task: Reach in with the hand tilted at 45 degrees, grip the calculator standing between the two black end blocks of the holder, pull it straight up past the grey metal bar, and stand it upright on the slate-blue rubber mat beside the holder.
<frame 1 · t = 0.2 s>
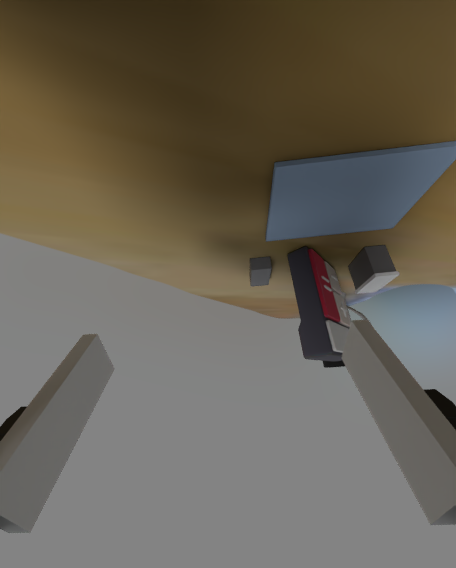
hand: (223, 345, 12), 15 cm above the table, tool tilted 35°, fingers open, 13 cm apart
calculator: (311, 260, 37), on the table
slot holder: (311, 261, 37), on the table
rubber mat: (343, 199, 24), on the table
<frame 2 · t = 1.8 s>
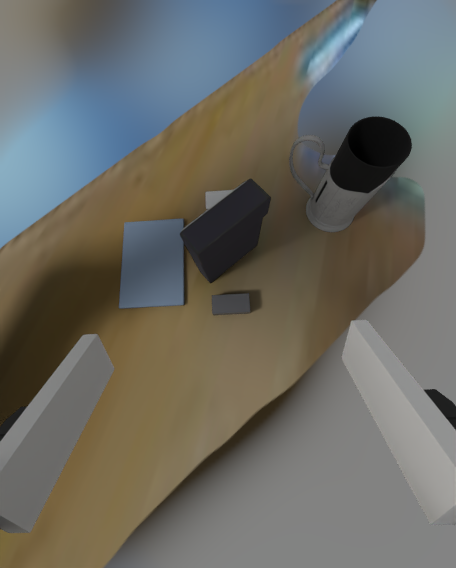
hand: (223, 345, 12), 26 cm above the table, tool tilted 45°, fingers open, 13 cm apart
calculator: (228, 258, 41), on the table
slot holder: (228, 257, 40), on the table
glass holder: (314, 207, 42), on the table
rubber mat: (153, 262, 41), on the table
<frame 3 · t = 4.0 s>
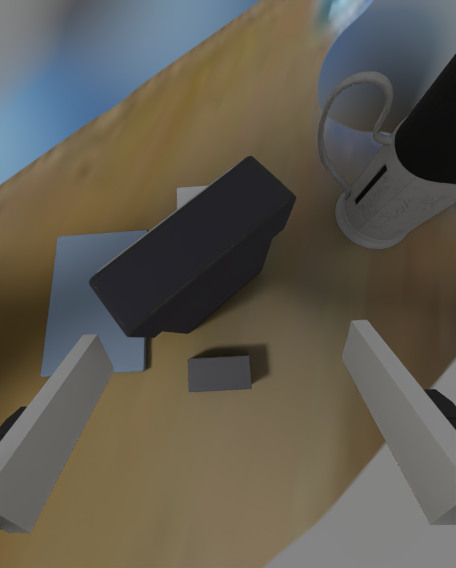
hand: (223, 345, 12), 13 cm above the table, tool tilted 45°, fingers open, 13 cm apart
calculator: (217, 291, 26), on the table
slot holder: (216, 291, 26), on the table
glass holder: (348, 210, 28), on the table
rubber mat: (100, 299, 26), on the table
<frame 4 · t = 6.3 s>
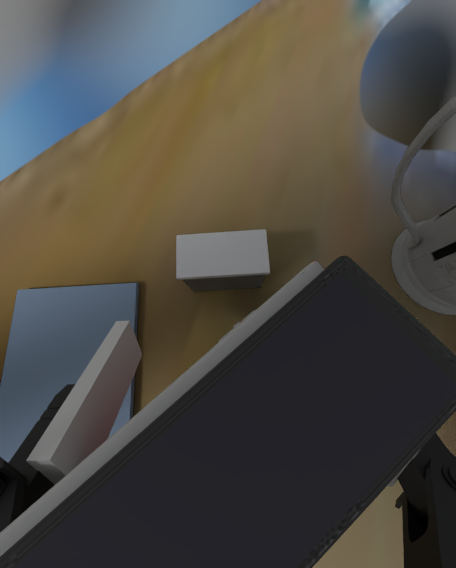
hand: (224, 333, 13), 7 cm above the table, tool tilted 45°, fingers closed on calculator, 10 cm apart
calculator: (231, 372, 19), on the table, touching gripper
slot holder: (230, 373, 19), on the table
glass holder: (409, 257, 20), on the table
rubber mat: (70, 380, 19), on the table
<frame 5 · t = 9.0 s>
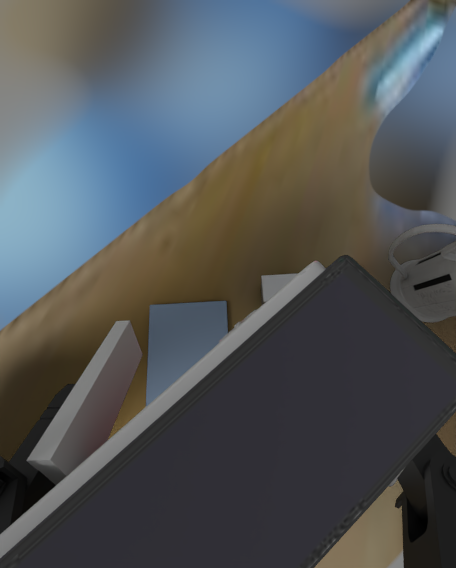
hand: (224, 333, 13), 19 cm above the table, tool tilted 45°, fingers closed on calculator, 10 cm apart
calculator: (231, 372, 19), point 12 cm above the table, touching gripper
slot holder: (289, 357, 30), on the table
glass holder: (401, 284, 32), on the table
rubber mat: (188, 361, 31), on the table
when the fingers open (9 cm above the table, at t = 11.6 s): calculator drops 1 cm, resting on rubber mat.
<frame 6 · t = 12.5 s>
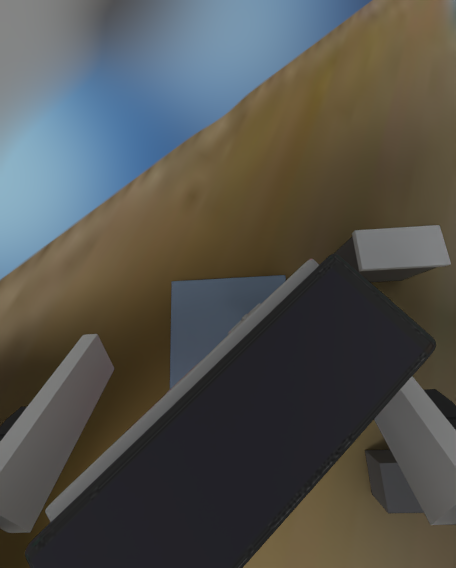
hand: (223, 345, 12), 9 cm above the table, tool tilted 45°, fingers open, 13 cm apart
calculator: (237, 364, 20), resting on rubber mat
slot holder: (384, 358, 20), on the table
rubber mat: (232, 365, 21), on the table
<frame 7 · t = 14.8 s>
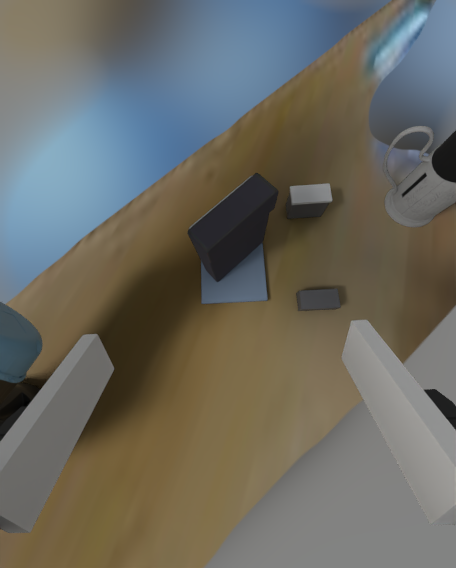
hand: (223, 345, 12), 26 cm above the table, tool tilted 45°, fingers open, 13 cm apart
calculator: (234, 256, 40), resting on rubber mat
slot holder: (308, 253, 40), on the table
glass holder: (393, 202, 42), on the table
rubber mat: (232, 257, 41), on the table
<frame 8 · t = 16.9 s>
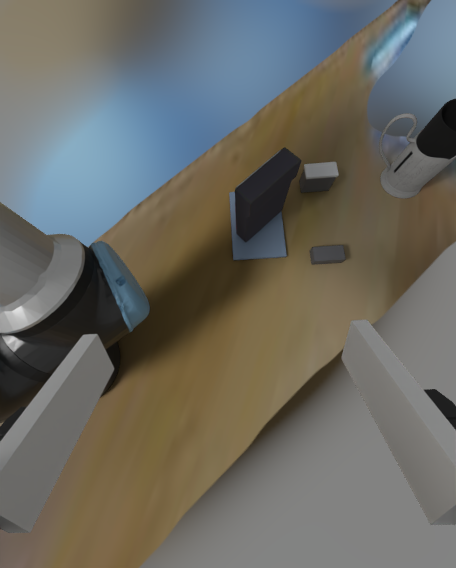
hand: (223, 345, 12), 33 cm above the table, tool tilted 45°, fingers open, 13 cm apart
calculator: (258, 222, 49), resting on rubber mat
slot holder: (319, 219, 49), on the table
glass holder: (387, 178, 51), on the table
rubber mat: (256, 224, 50), on the table
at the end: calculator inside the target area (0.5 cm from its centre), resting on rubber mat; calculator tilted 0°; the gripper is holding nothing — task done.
